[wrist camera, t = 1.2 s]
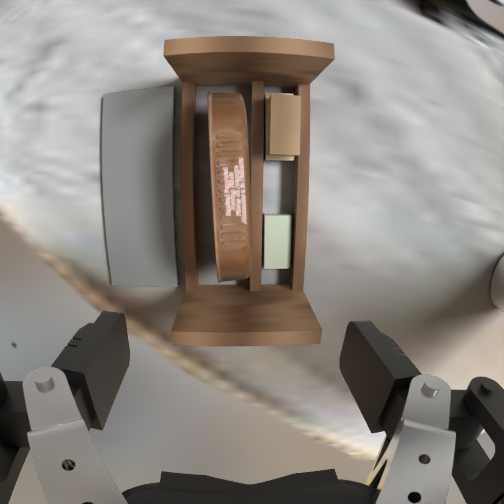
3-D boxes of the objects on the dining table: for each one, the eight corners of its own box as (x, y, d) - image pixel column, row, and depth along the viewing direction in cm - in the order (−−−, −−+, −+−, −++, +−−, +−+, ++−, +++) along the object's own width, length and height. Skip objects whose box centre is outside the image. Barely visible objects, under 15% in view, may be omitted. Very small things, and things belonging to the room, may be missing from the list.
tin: (209, 103, 25) (197, 80, 17) (244, 101, 26) (247, 77, 17) (217, 263, 30) (210, 300, 22) (250, 261, 30) (254, 298, 22)
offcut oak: (296, 100, 24) (300, 96, 22) (295, 155, 25) (299, 155, 24) (268, 98, 24) (271, 93, 22) (267, 154, 25) (269, 153, 24)
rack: (305, 76, 25) (333, 43, 16) (298, 295, 31) (320, 343, 22) (186, 74, 24) (164, 40, 16) (189, 295, 30) (172, 344, 22)
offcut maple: (289, 98, 26) (293, 93, 24) (290, 160, 28) (293, 160, 26) (263, 97, 26) (265, 92, 24) (263, 160, 27) (265, 160, 26)
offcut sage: (289, 213, 29) (291, 215, 28) (287, 263, 30) (289, 268, 29) (263, 213, 29) (264, 215, 28) (263, 264, 30) (264, 268, 29)
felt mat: (174, 87, 25) (173, 85, 24) (178, 284, 30) (177, 286, 29) (105, 95, 24) (103, 94, 24) (114, 283, 30) (112, 285, 29)
